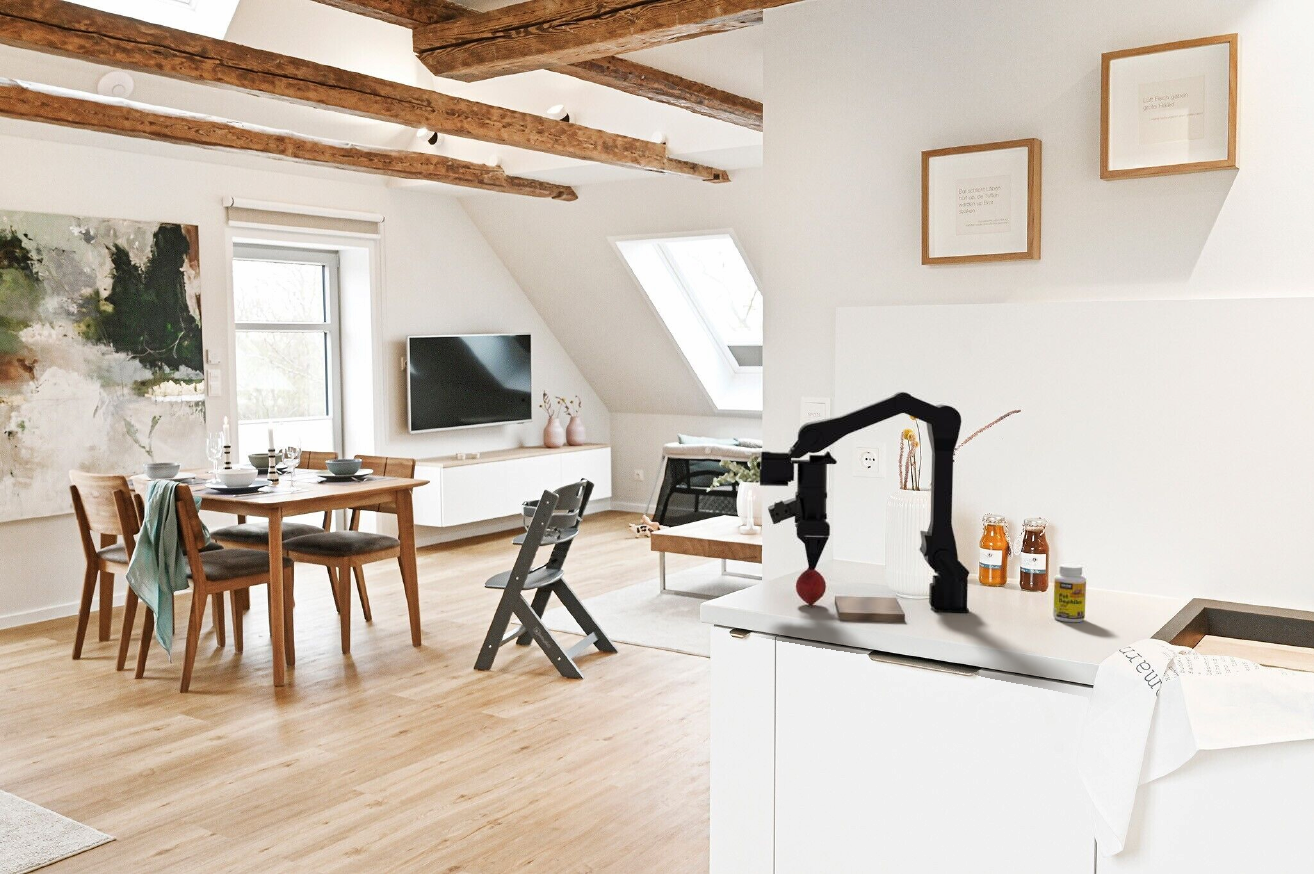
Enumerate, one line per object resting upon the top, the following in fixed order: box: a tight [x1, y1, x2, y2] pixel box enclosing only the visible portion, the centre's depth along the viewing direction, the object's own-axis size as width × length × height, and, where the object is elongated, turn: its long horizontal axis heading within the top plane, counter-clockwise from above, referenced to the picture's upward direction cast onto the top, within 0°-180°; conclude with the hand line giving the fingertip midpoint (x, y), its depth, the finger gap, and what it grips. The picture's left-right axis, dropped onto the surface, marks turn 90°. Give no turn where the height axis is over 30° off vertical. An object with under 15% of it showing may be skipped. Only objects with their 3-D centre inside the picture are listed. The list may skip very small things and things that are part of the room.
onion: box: [795, 566, 827, 606], centre depth 213 cm, size 6×6×8 cm
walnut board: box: [834, 595, 906, 623], centre depth 207 cm, size 12×14×2 cm
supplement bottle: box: [1052, 563, 1087, 623], centre depth 202 cm, size 6×6×10 cm
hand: (810, 565), depth 213 cm, fingers open, 9 cm apart
